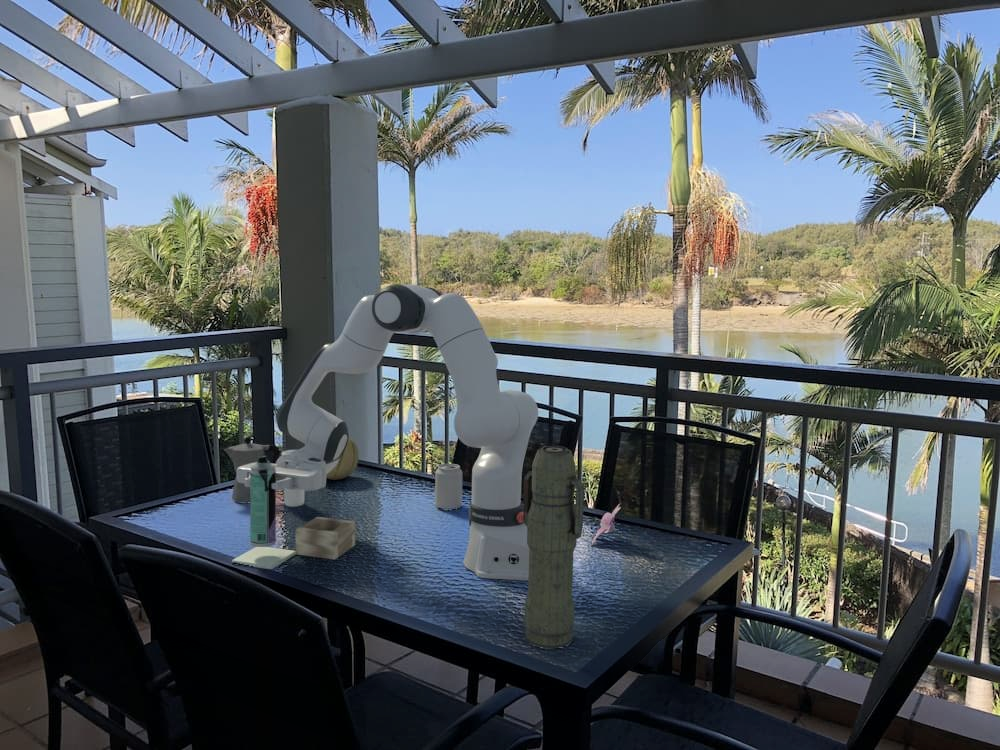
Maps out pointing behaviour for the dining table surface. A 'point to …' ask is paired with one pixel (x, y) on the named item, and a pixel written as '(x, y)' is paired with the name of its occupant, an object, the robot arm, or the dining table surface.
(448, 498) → the can
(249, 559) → the sage pad
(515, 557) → the robot arm
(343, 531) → the can holder
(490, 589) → the dining table surface
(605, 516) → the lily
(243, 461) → the coffeepot
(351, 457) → the cantaloupe
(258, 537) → the spray can
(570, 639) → the olive green cylinder
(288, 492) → the drinking glass
